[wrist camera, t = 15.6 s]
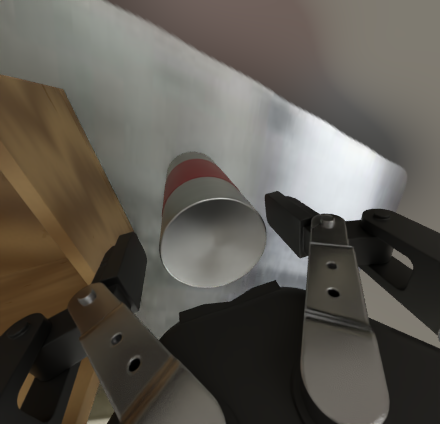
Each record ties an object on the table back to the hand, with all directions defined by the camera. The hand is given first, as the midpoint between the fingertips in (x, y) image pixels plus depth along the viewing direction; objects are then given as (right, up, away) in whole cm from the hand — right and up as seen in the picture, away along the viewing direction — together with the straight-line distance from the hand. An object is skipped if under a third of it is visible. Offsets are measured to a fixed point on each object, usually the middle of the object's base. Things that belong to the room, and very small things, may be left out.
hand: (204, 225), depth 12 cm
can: (-2, +4, +8) cm, 9 cm away
